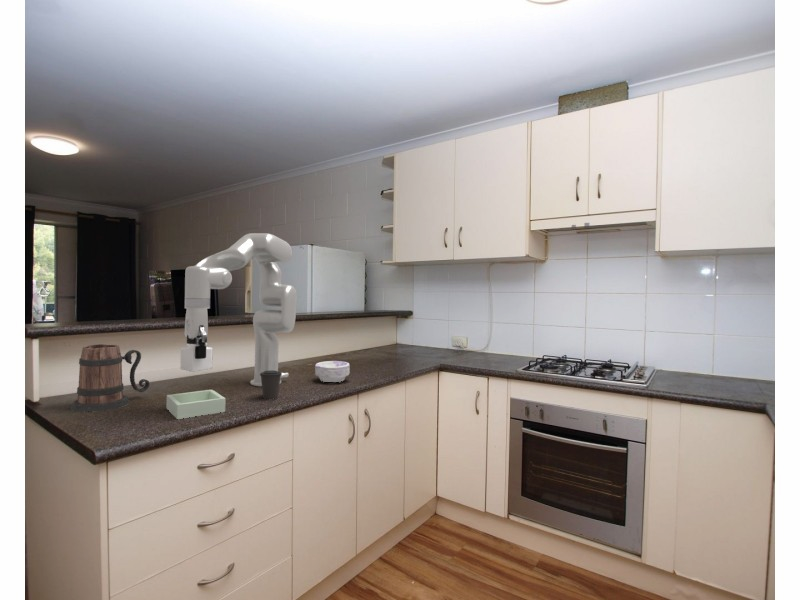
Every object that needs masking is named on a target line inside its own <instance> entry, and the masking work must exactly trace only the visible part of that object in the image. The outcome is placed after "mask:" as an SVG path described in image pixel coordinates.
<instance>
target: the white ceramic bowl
mask: <svg viewBox="0 0 800 600" xmlns="http://www.w3.org/2000/svg"><path fill="white" fill-rule="evenodd" d="M314 367H315V368H314V369H315V370H314V371H315V372H314V374H315V377H318V378H319V380H320V381H321V382H322V381H323V382H322V383H324V382H339V383H342V382H343V381H345V379H346V377H347V376H349V375H350V372H351V371H350V367H351V366H350V363H349V362H347V361H343V360H342V361H341V360H340V361H339V360H328V361H327V360H326V361H320V362H317V363H315V365H314ZM341 381H342V382H341Z"/></svg>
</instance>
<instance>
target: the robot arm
mask: <svg viewBox="0 0 800 600" xmlns="http://www.w3.org/2000/svg"><path fill="white" fill-rule="evenodd" d="M292 255H293V249H292V247H291V245H290V244H289V243H288V242H287V241H286V240H284V239H282V238H280V237H278V236H276V235H274V234H272V233H265V232H264V233H262V232H259V233H257V232H256V233H255V232H254V233H251V232H250V233H246V234H245V235H243V236H242V237H240V238H239V239H238V240H237V241H236V242H234V244H232V245H230V247H229V248H227V249H225V250H222V251H219V252H217V253H214V254H212V255H209V256H206V257H205V258H203V259H202V260H200V261H199V262H197V263H196V264H195V265H192V266H191V265H190V266H187V267H186V269H185V273H184V275H185V277H184V309H186V311H185V312H186V313H185V318H184V319H185V320H184V336H185V338H187V335H188V336H189V338H190V339H194V338H195V340H196V346H195V359H204V358H206V347H207V345H206V341H207V342H208V334H209V321H208V320H209V319H208V318H209V317H208V316H209V315H208V309H211V290H224V289H226V288H228V287H229V286H230V285H231V283H232V281H233V276H232V273H231V272H233V271H236V270H240V269H242V268H245V266H246V265H247V264H249V262H251V260H253V259H254V260H255V262H256V264H257V266H258V267H259V270H260V284H259V292H258V293H259V297H258V299H259V303H260V304H261V305H263V306H265V307H280V308H281V309H267V308H265V309H260V310H257V311H256V312H255V313H254V314H253V318H252V324H253V331H254V343H255V344H254V377H253V379H251V380H250V382H249V383H250V385H251V386H254V387H255V386H256V387H262V383H261V376H260V373H262V372H264V371H278V372H279V340H278V336H277V335H276V333H280V334H282V333H283V334H288V333H291V332H292V331H293V330H294V328H295V323H296V319H297V318H296V316H297V303H298V292H297V290H296V288H295V287H294V286H293V285H291V284H282V270H281V268H280V267H279V265H278V263H287V262H288V261H290V260H292V257H293V256H292ZM197 336H201V337H197ZM206 338H207V340H206ZM198 340H199V341H198ZM281 373H282V375H281V378H280V384H281V383H282V379H283V378H289V375H290V374H289V372H281Z"/></svg>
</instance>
